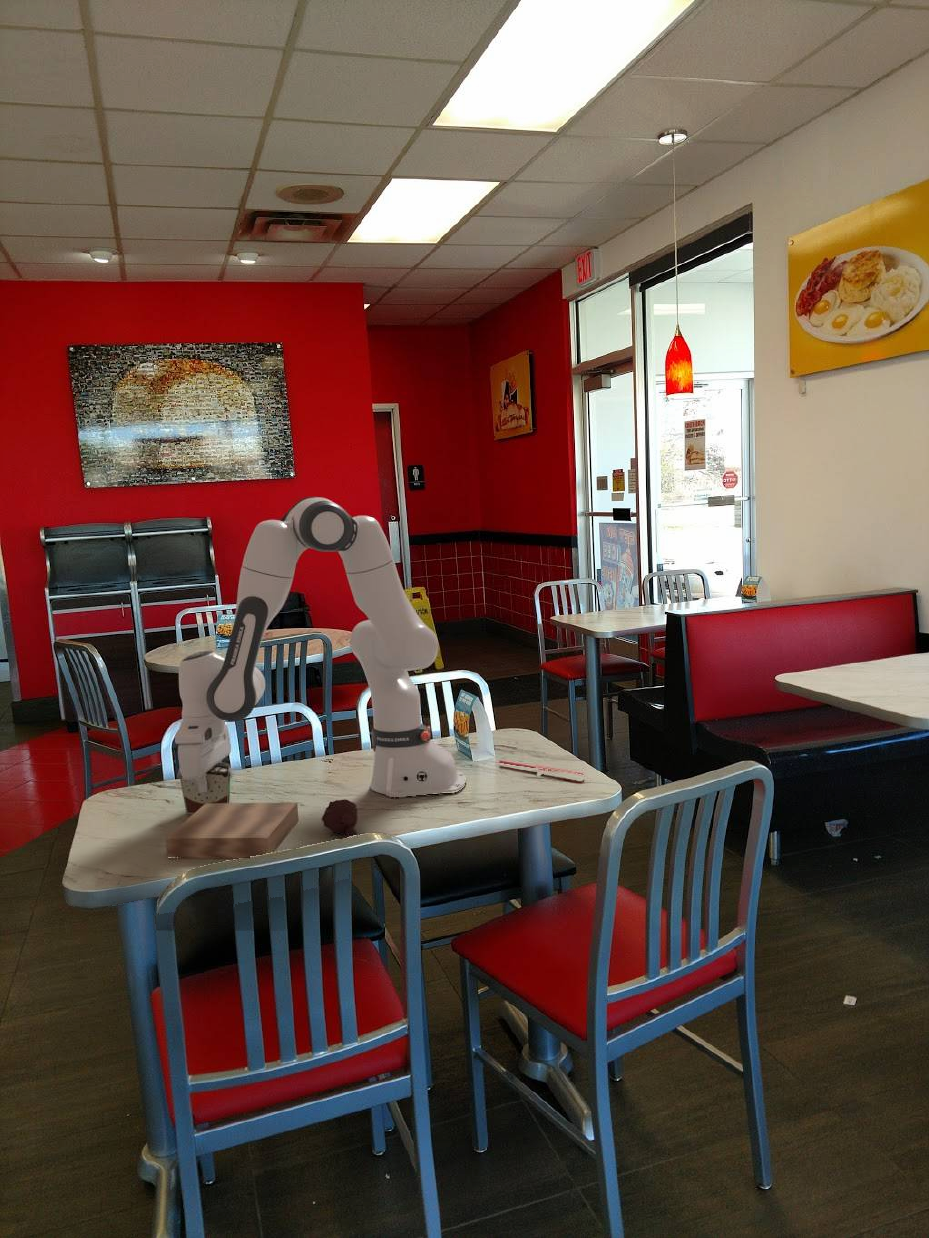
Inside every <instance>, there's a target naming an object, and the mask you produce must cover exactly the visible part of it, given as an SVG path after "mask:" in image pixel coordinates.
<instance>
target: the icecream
mask: <svg viewBox="0 0 929 1238" xmlns="http://www.w3.org/2000/svg"><path fill="white" fill-rule="evenodd" d="M321 820H322V823H323V826H324V827H325V828H327V829H328V830H330V832H333V833H335V834H340V835H341V834H342V835H345V834H347V836H348V837H349V836H353V835H357V836H358V833H357V830H356V829H354V828H355V826H356V825H357V823H358V809H357V804H356V803H355V802H353V801H350V800H349V799H345V798H343V799H339V800H338V799H336V800H333V801H329V803H328V806H327V807H326V808H325V810H324V813H323V815H322V816H321Z"/></svg>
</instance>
